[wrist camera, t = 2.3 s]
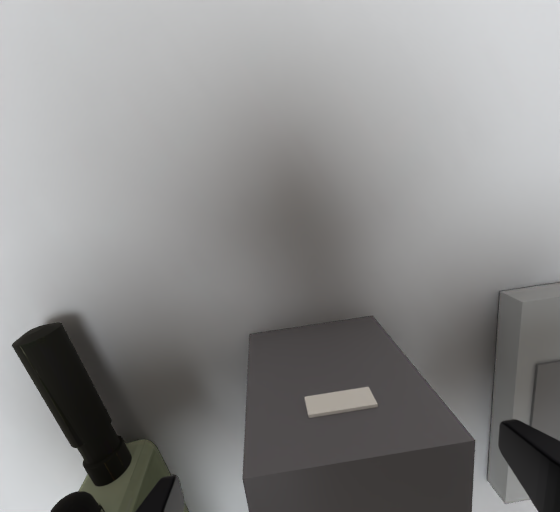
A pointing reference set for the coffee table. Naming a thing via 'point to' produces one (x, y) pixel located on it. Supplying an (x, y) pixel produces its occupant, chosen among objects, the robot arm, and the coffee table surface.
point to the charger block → (348, 426)
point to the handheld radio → (88, 427)
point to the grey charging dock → (525, 374)
